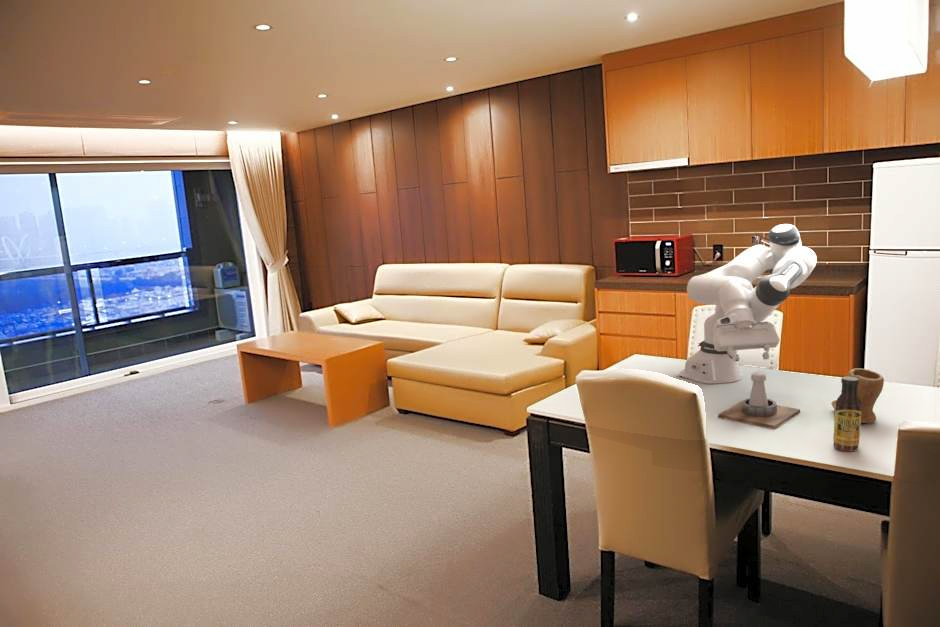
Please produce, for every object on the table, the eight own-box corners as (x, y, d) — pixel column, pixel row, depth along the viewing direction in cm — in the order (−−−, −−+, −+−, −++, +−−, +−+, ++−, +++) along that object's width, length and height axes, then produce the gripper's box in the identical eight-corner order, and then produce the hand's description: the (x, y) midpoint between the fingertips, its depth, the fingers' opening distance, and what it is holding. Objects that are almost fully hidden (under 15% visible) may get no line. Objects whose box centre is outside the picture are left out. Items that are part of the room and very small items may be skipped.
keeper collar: (736, 413, 215) (736, 404, 214) (751, 404, 221) (751, 395, 221) (767, 419, 208) (767, 409, 207) (782, 410, 214) (782, 401, 214)
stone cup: (887, 426, 197) (889, 376, 194) (842, 425, 200) (843, 377, 198) (872, 409, 211) (873, 362, 209) (830, 408, 215) (831, 363, 212)
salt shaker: (745, 410, 216) (744, 371, 214) (761, 408, 217) (761, 369, 215) (755, 416, 210) (754, 376, 208) (772, 414, 211) (772, 374, 209)
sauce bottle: (834, 451, 183) (835, 381, 179) (831, 443, 189) (832, 374, 185) (862, 453, 181) (864, 381, 177) (858, 444, 186) (859, 375, 183)
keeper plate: (718, 417, 216) (718, 414, 215) (745, 402, 227) (745, 399, 227) (774, 428, 202) (774, 425, 202) (800, 412, 214) (800, 409, 214)
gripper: (770, 326, 227) (781, 362, 219) (708, 330, 228) (717, 366, 221) (775, 315, 222) (787, 352, 214) (711, 320, 223) (721, 356, 215)
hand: (751, 359), depth 217 cm, fingers open, 8 cm apart
